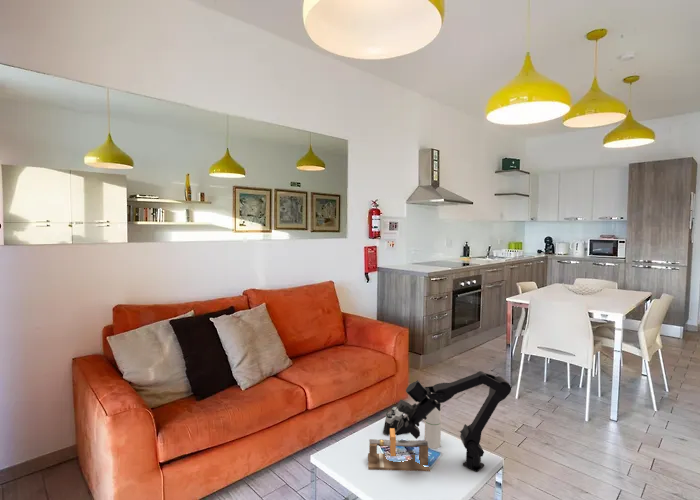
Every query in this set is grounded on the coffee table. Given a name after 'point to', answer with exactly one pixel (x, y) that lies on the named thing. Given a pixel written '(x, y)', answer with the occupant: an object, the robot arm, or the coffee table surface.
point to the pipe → (399, 443)
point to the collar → (392, 442)
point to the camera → (392, 420)
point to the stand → (382, 463)
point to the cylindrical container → (433, 428)
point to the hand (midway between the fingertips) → (395, 434)
